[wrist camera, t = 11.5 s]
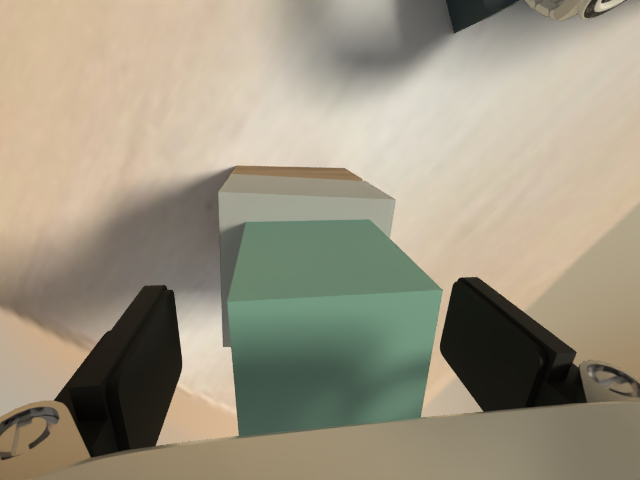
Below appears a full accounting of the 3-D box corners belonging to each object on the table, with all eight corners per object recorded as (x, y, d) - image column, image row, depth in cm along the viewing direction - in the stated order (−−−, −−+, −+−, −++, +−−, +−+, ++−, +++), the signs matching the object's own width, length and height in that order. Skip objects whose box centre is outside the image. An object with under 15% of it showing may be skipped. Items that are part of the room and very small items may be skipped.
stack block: (246, 221, 12) (227, 302, 7) (369, 219, 13) (442, 290, 8) (252, 329, 14) (241, 463, 9) (361, 322, 15) (416, 441, 9)
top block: (231, 173, 16) (217, 191, 12) (364, 180, 17) (395, 199, 13) (233, 296, 18) (223, 347, 14) (351, 295, 20) (373, 342, 15)
